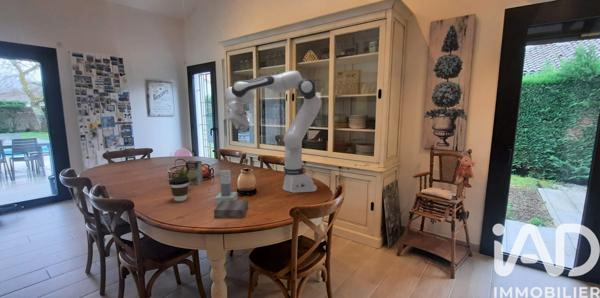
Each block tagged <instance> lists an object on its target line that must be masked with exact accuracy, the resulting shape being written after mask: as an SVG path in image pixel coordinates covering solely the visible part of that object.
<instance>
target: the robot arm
mask: <svg viewBox="0 0 600 298" xmlns="http://www.w3.org/2000/svg"><path fill="white" fill-rule="evenodd" d="M316 85H317V84H316V82H315V81H314V80H313V79H312V78H310V77H306V78H303V77H302V75H301V73H300V71H298V70H288V71H284V72H281V73H279V74H273V75H263V76H259V77H255V78H251V79H246V80H243V79H239V80H236V81H235V82H234V83H233V84H232V85H231V86H229V87H227V88H226V89H225V91H224V97H225V102H226V104H227V111H226V113H227V114H226V115H227V119H228V121H230V122H231V123H232V124H233V126H234V129H236V130H240V128H241V129H242V133H243V134H246V133H247V128H249V126H250V125H249V120H248V119H249V118H248V117H247V116H248V113H247V112H246V111H245V109H244V108H243V106H244V105H248V104H251V103H253V101H254V99H255V93H254V90H258V89H262V88H265V89H268V90H271V91H273V92H274V93H278V94H279V93H284V92H287V91H289V90H292V89H293V90H294V89H296V90H297V91H298V93H299V94H300V95H301V96H302V97H303V98H304V101H303V104H302V105H301V107H300V108H299V110H298V112H297V114H296V116H295V117H294V119H293V120H292V122H291V123H290V125H289V127H288V128H287V131H286V132H285V134H284V135H283V143H284V168H283V175H284V181H283V186H282V190H283V191H286V192H289V193H292V194H296V193H310V192H316V191H317V190H318V188H317V185H316V184H315V183H314V180H313V178H312V177H311V176H309V175H308V174H307V173H306V172H307V171H306V169H305V167H303V163H302V162H303V160H302V157H303V155H302V151H303V149H302V148H303V142H302V141H303V139H304V138H305V136H306V134H307V133H308V131H309V129H310V127H311V125H312V124H313V122H314V120H315V119H316V117H317V116H318V114H319V111H320V109H321V107H322V102H323V101H322V99H321V98H320V97H319V96H318V95H317V94H316V93H317V86H316ZM239 127H240V128H239Z"/></svg>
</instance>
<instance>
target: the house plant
mask: <svg viewBox="0 0 600 298" xmlns="http://www.w3.org/2000/svg"><path fill="white" fill-rule="evenodd" d="M173 170H174V171H173V172H175V174H176V175H172V176H173V179H175V178H188V176H189V175H188V173H189V172H190V171H191V170H190V171H189V172H188V173H187V168H186V167H185V166H184V167H183V166H181V167H180V169H179V172H178V171H176V169H173ZM186 173H187V174H186ZM187 175H188V176H187ZM190 175H191V174H190ZM188 179H189V178H188ZM189 189H190V185H189V183H188V192H189Z"/></svg>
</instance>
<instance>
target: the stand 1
mask: <svg viewBox="0 0 600 298" xmlns="http://www.w3.org/2000/svg"><path fill="white" fill-rule="evenodd" d="M230 200H238V192H237V191H231V195H230V196H221V191H220V192H218V193H217V195H216V196H215V197H214V203H215V205H217V206H218V205H219V203H220V202H221V201H230Z"/></svg>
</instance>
